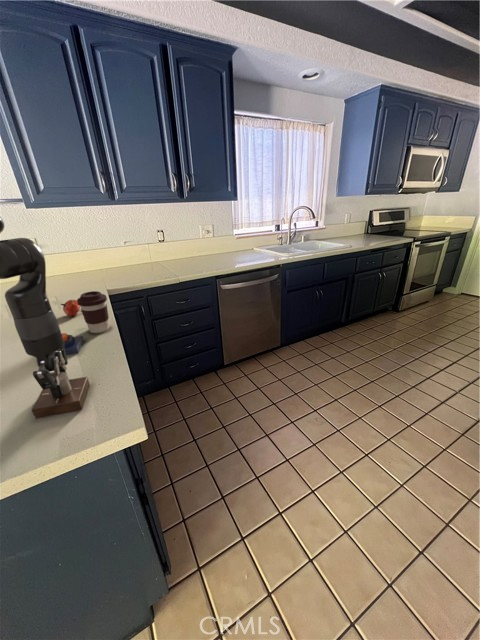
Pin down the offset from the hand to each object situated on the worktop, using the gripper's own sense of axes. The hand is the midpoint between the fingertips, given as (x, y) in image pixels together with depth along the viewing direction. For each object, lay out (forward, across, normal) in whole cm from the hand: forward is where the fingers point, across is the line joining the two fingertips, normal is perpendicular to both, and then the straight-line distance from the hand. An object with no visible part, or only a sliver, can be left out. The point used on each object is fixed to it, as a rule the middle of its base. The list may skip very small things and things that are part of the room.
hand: (61, 389), depth 67 cm
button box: (+4, -29, -8) cm, 30 cm away
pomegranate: (+4, -61, -12) cm, 62 cm away
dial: (+1, 0, 0) cm, 1 cm away
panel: (+4, 0, 0) cm, 4 cm away
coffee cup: (+4, -42, +1) cm, 42 cm away
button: (0, -29, -7) cm, 30 cm away
